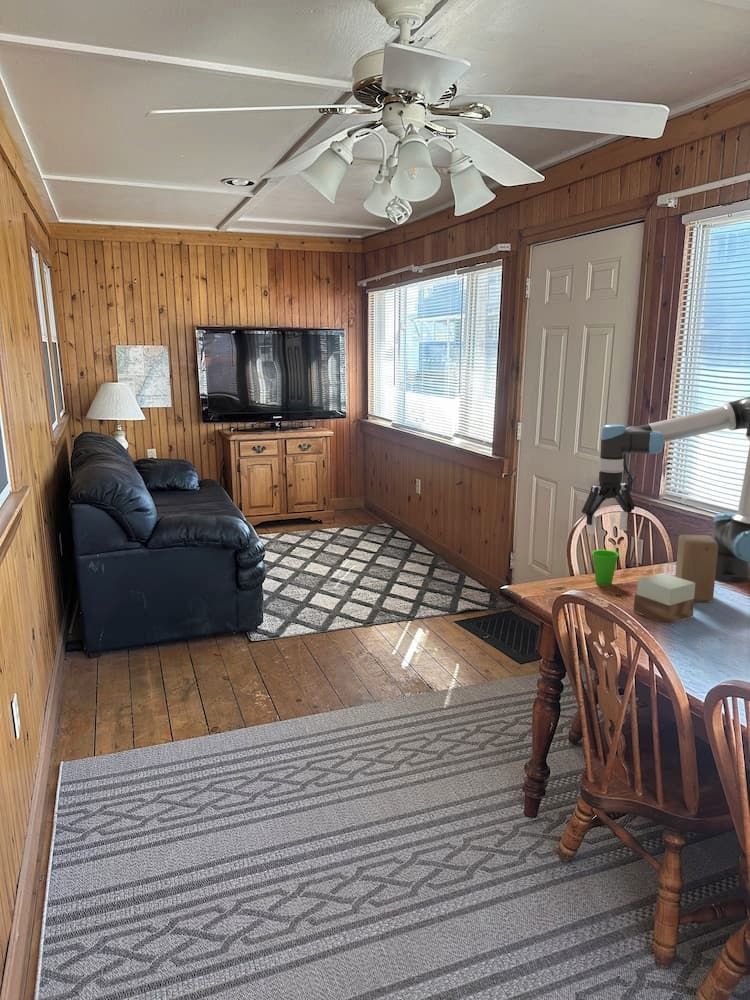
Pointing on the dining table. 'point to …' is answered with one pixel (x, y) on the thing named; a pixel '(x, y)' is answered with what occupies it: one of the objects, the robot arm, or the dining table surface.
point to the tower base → (663, 609)
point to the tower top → (666, 589)
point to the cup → (604, 566)
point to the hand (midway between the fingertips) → (607, 532)
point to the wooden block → (698, 564)
